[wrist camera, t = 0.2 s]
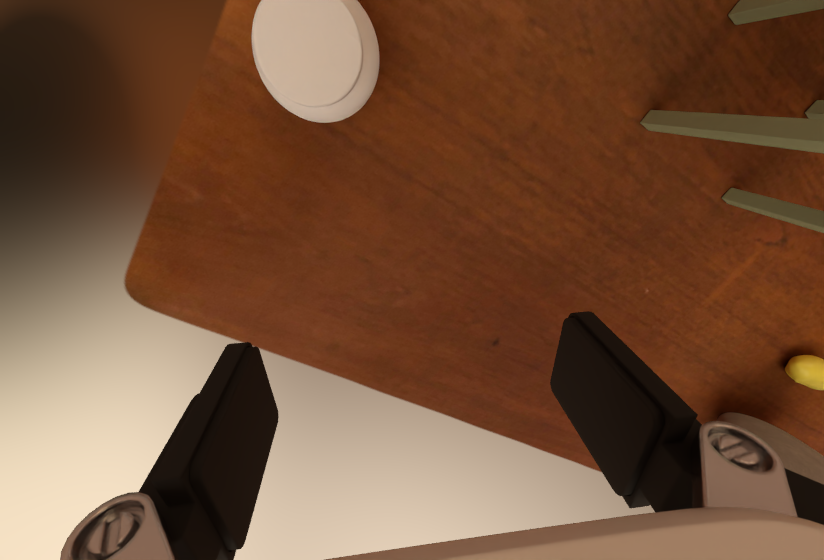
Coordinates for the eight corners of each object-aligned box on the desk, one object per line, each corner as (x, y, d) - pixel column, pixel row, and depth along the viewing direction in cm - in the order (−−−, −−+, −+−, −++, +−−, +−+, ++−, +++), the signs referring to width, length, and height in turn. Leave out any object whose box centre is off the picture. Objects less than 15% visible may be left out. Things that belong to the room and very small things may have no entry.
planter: (785, 415, 53) (974, 560, 36) (747, 444, 55) (907, 591, 39) (711, 383, 47) (895, 538, 31) (673, 417, 50) (823, 576, 33)
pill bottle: (274, 91, 25) (212, 89, 15) (299, -10, 23) (244, -93, 13) (358, 130, 27) (353, 151, 17) (389, 40, 25) (405, 3, 15)
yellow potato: (794, 382, 49) (826, 403, 46) (768, 362, 46) (800, 383, 43) (822, 362, 48) (857, 383, 44) (797, 340, 45) (832, 360, 41)
